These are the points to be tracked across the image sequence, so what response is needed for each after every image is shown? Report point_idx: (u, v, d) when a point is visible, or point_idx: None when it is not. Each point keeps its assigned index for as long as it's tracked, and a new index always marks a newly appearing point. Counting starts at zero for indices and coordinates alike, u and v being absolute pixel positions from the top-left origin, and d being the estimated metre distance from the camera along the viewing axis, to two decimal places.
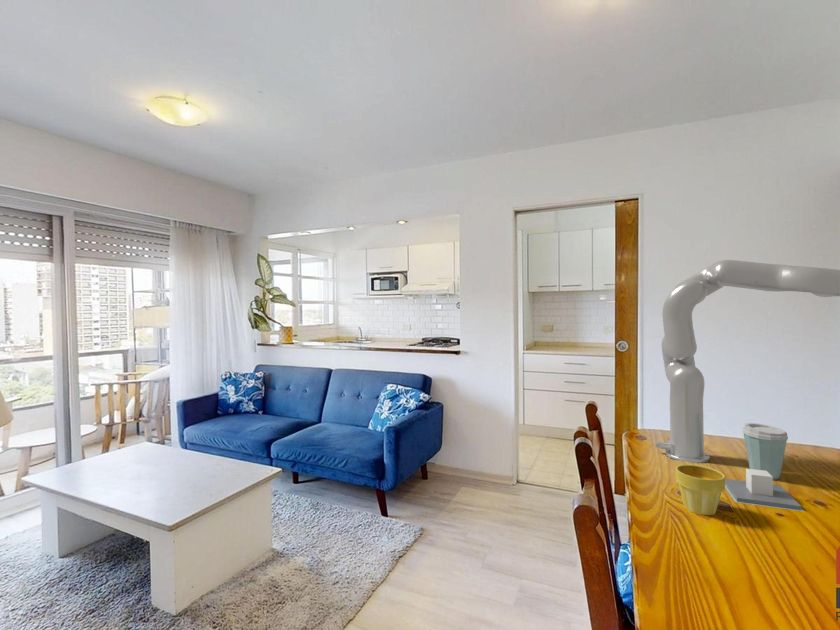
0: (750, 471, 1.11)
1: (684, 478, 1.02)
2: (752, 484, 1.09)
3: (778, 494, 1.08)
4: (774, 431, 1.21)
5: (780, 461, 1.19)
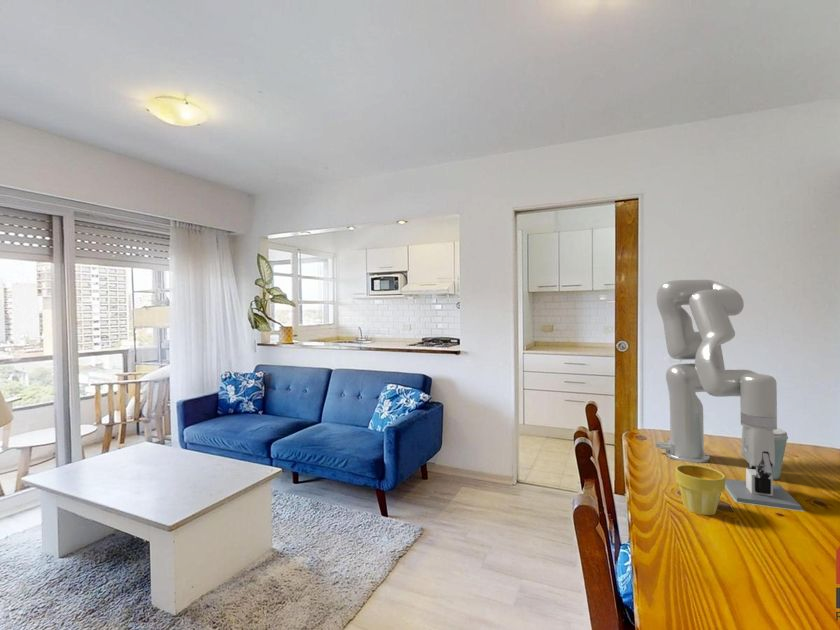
0: (750, 471, 1.11)
1: (684, 478, 1.02)
2: (752, 484, 1.09)
3: (778, 494, 1.08)
4: (774, 431, 1.21)
5: (780, 461, 1.19)
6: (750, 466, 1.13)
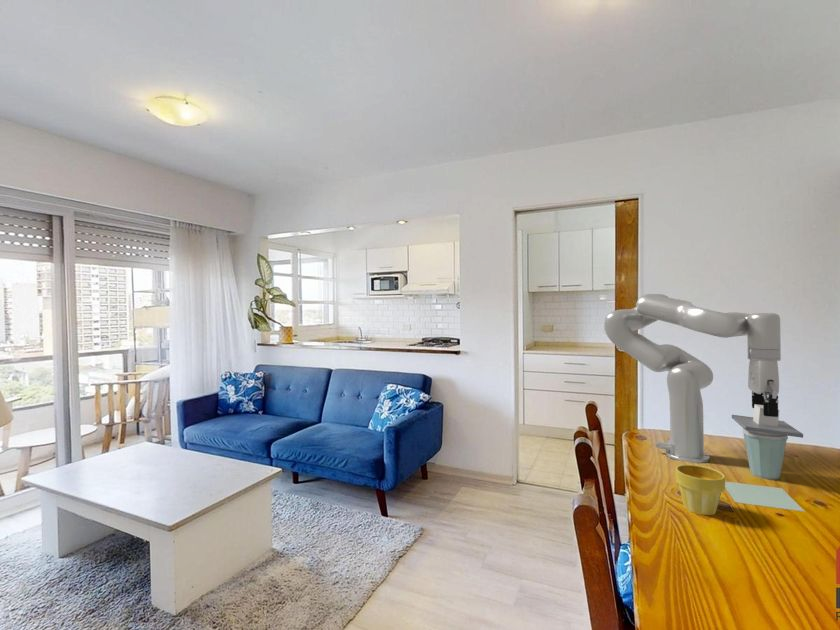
0: (758, 406, 1.23)
1: (684, 478, 1.02)
2: (760, 416, 1.21)
3: (782, 426, 1.20)
4: None
5: (780, 461, 1.19)
6: (754, 393, 1.27)
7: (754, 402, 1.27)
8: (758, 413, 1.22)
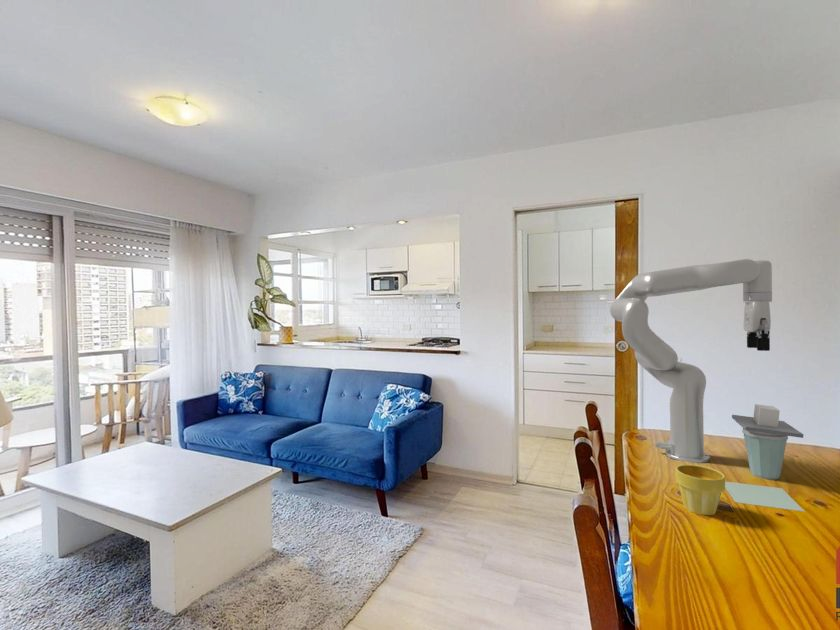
0: (759, 406, 1.23)
1: (684, 478, 1.02)
2: (760, 416, 1.21)
3: (782, 426, 1.20)
4: None
5: (780, 461, 1.19)
6: (748, 334, 1.43)
7: (749, 342, 1.42)
8: (758, 413, 1.22)
